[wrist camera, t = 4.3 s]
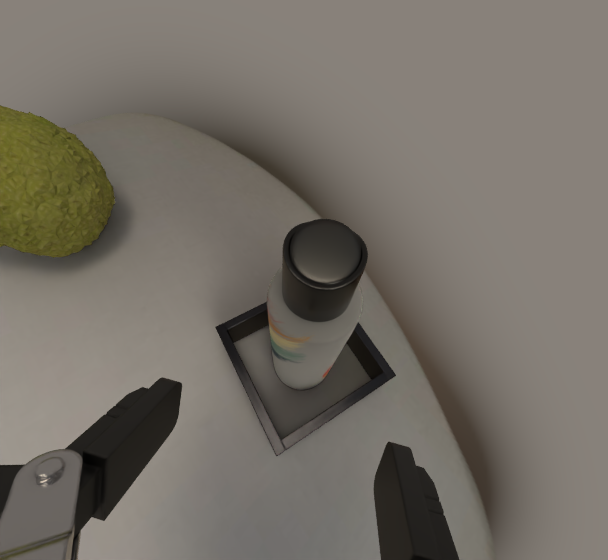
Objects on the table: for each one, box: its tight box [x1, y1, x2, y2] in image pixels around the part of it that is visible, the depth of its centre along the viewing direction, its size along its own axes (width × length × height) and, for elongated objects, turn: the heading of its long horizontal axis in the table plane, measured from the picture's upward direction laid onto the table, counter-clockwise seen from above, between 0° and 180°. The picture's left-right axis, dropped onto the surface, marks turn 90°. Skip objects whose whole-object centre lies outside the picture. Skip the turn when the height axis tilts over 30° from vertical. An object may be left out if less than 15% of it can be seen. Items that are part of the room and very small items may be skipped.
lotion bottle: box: [267, 219, 368, 390], centre depth 21 cm, size 6×6×20 cm
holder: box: [216, 302, 396, 456], centre depth 28 cm, size 12×12×4 cm
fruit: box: [0, 106, 115, 257], centre depth 31 cm, size 16×14×15 cm
